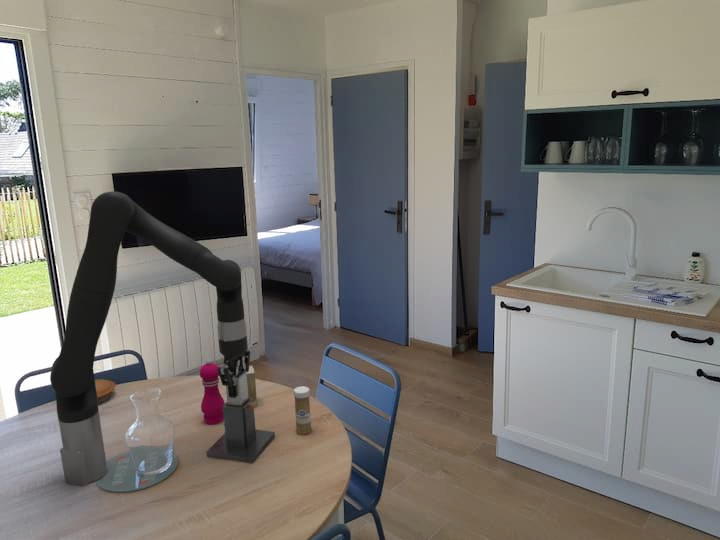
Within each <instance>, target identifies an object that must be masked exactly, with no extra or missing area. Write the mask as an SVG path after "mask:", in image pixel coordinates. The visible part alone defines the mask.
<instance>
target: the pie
mask: <svg viewBox="0 0 720 540" xmlns="http://www.w3.org/2000/svg"><path fill="white" fill-rule="evenodd" d="M95 386H96V392H97V401H98V405H100V404H102V403H104V402H106V401H108V400H109V399H110V398H111V397H112V393H113V392H114V390H115V388H116V386H117V385H116V383H115V382H113V381H112V380H108V379H95ZM99 403H100V404H99Z"/></svg>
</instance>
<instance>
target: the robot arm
mask: <svg viewBox="0 0 720 540" xmlns="http://www.w3.org/2000/svg"><path fill="white" fill-rule="evenodd" d="M125 232H126V233H130V234H131V235H134V236H135V237H138V238H139V239H142V240H144V241H146V242H147V243H149V245H151V246H152V247H154V248H156V249H157V250H158V251H160V252H161V253H162V254H164V255H165V256H167V257H168V258H169V259H170V260H172V261H174V262H176V263H178V264H179V265H181V266H183V267H184V268H186V269H189V270H190V271H192V272H194V273H196V274H197V275H198V276H199V277H201V278H202V279H203V280H205V281H207V282H208V283H209V285H210V284H211V285H212V286H213V287H215V289H216V290H215V291H216V298H217V300H216V315H217V316H216V317H217V339H218V350H219V353H220V354H221V355H222V356H223V365H222V366H218V367H219V368H218V372H219V376H218V377H219V380H220V381H221V385H222V386H224V387H226V386H228V395H229V397H230V398H236V397H237V388H236V377H237V376H238V370H245V369H246V370H247V372H248V371H249V366H250V361H251V360H250V358H251V351H250V350H248V348H249V347H248V334H247V322H246V319H245V306H244V301H243V300H244V299H243V296H242V293H243V290H242V289H243V288H242V287H243V286H242V270H241V267H240V265H239V264H238V263H237V262H235V261H234V260H232V259H224V260H223V259H222V258H220V257H219V256H216V255H215V254H213V252H212V251H211V250H210V249H209V248H208V247H207V246H204V245H203V244H201V243H200V242H197V241H196V240H194V239H192V238H191V237H189V236H187V235H186V234H184V233H182V232H180V231H178V230H176V229H174V228H173V227H171V226H169V225H167V224H165V223H163V222H162V221H160V220H159V219H158V218H155V216H152V214H150V213H149V212H147V211H146V210H145V209H144V208H142V207H141V206H140V205H139V204H138V203H136V202H135V201H134V200H133V199H132V198H131V197H130V196H129V195H128V194H125V193H123V192H120V191H107V192H106V191H105V192H103V193H101V194H99V195H97V196H96V198H94V200H93V202H92V204H91V207H90V214H89V224H88V231H87V238H86V242H85V247H84V249H83V251H82V255H81V259H80V261H79V264H78V267H77V271H76V274H75V277H74V281H73V284H72V288H71V292H70V295H69V300H68V306H67V313H66V319H65V320H66V321H65V322H66V323H65V334H64V338H63V343H62V347H61V349H60V352H59V355H58V357H56V359H55V360H54V361H53V363H52V366H51V369H50V370H51V371H50V376H49V379H50V380H49V381H50V384H51V387H52V389H53V390H54V392H55V401H56V403H55V404H56V414H57V422H58V426H59V431H60V433H59V434H60V438H61V444H62V447H61V448H60V449H59V453H60V458H61V464H62V470H63V476H64V483H67V484H72V485H78V486H83V487H85V486H87V485H88V484H90V483H93V482H96V481H97V480H99V479H101V478H102V477H104V476H105V475H106V473H107V472H108V464H107V458H106V451H105V446H104V445H105V444H104V438H103V433H102V432H103V431H102V425H101V417H100V412H99V404H98V401H97V392H96V386H95V380H96V378H95V373H94V364H95V356H96V350H97V346H98V341H99V339H100V337H101V334H102V331H103V329H104V327H105V324H106V321H107V317H108V314H109V312H110V308H111V305H112V301H113V297H114V292H115V288H116V283H117V276H118V258H119V256H118V255H119V251H120V248H121V244H122V241H123V237H124V236H125ZM229 372H234V373H229ZM231 377H233V379H232V380H231ZM225 380H226V381H225Z"/></svg>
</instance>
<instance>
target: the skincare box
mask: <svg viewBox="0 0 720 540" xmlns="http://www.w3.org/2000/svg"><path fill="white" fill-rule="evenodd" d="M246 374H247V386H248V398H253V403H255V408H257V407H258V398H257V385H256V373H255V369H254V366H253V365H249V371H248V372H246Z"/></svg>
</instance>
